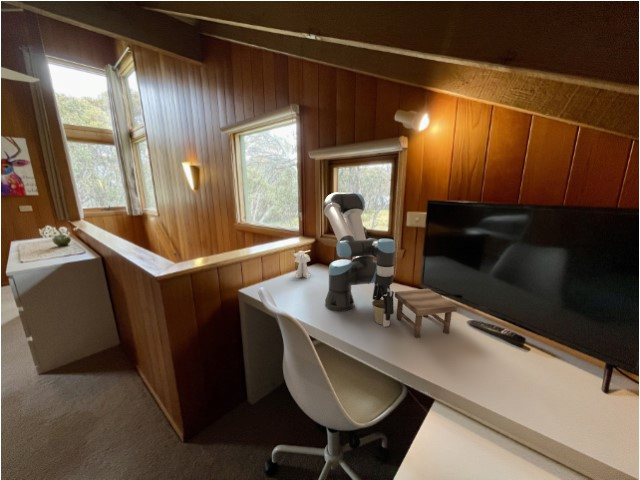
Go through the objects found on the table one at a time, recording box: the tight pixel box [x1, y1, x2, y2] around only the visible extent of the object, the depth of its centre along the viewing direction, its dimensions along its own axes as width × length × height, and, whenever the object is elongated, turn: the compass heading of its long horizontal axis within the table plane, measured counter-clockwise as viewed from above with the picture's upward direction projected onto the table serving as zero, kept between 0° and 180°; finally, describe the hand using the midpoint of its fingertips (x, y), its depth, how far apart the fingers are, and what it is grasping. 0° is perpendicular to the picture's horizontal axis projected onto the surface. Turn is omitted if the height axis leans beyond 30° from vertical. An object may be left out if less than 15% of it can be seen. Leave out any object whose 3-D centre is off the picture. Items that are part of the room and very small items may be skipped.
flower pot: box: [371, 298, 385, 325], centre depth 112 cm, size 9×9×9 cm
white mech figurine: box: [292, 249, 311, 279], centre depth 169 cm, size 12×13×18 cm
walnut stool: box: [394, 288, 458, 339], centre depth 108 cm, size 18×18×13 cm
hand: (381, 320), depth 113 cm, fingers closed on flower pot, 8 cm apart
